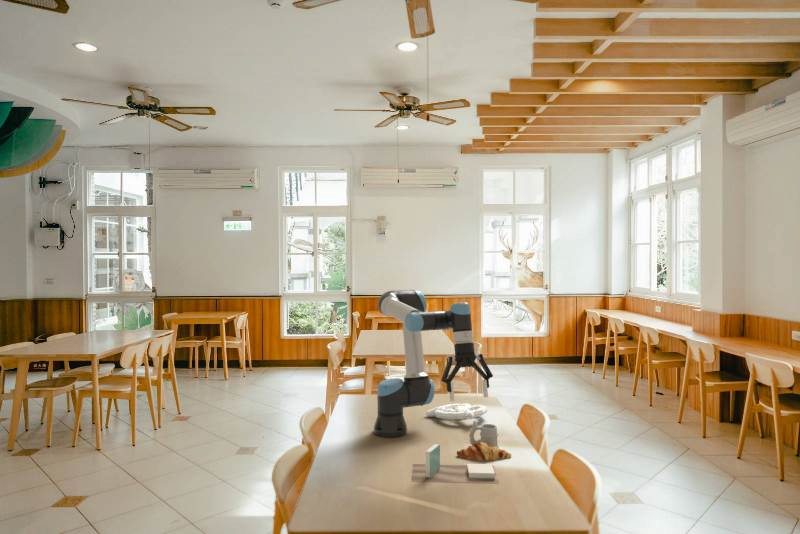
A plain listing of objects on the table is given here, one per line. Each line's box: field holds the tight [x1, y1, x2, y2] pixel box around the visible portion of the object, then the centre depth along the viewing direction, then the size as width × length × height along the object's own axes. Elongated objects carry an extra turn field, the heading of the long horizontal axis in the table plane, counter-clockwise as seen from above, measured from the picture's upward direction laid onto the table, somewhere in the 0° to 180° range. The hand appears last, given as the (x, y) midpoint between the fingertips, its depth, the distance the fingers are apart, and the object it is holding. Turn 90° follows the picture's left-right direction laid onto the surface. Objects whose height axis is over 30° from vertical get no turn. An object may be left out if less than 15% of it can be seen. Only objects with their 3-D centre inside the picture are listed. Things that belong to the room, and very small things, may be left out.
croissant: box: [456, 442, 513, 462], centre depth 193 cm, size 21×10×8 cm, turn 89°
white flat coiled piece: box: [425, 402, 488, 420], centre depth 245 cm, size 28×24×6 cm
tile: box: [425, 443, 441, 478], centre depth 177 cm, size 8×2×9 cm, turn 152°
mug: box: [468, 420, 500, 449], centre depth 202 cm, size 8×12×12 cm, turn 84°
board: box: [411, 463, 500, 485], centre depth 177 cm, size 15×30×1 cm, turn 87°
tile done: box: [466, 463, 496, 479], centre depth 177 cm, size 8×9×2 cm
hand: (469, 399), depth 188 cm, fingers open, 13 cm apart
